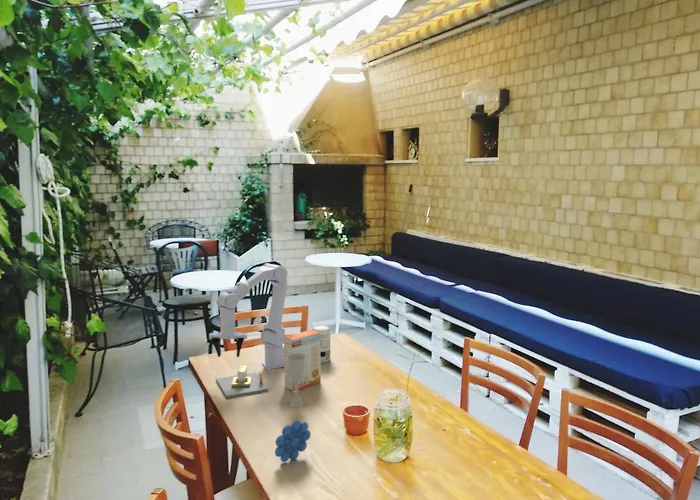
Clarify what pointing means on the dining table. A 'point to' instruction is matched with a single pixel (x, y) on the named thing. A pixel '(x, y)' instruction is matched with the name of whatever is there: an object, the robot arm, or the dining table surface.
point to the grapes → (292, 441)
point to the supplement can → (324, 342)
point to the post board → (254, 387)
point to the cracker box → (311, 348)
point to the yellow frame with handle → (244, 367)
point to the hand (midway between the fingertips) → (228, 356)
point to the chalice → (296, 374)
